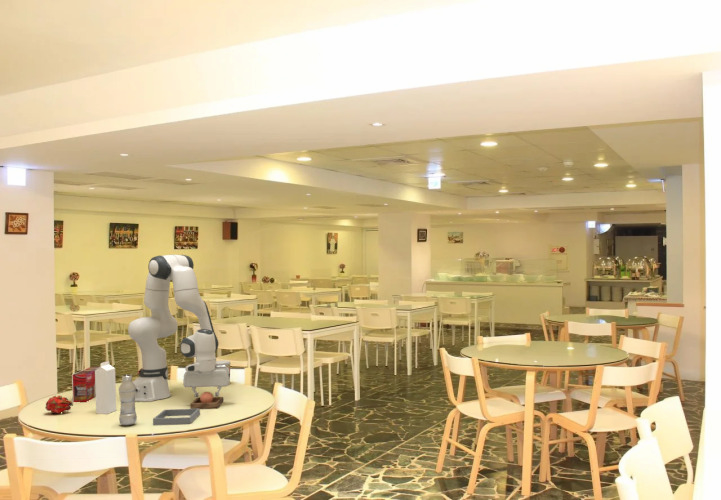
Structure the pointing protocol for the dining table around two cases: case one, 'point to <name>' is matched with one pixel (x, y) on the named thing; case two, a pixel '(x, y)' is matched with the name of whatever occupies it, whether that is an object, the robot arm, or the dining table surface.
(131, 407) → the plastic bottle
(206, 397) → the ball
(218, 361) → the coffee cup
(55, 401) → the dragon fruit
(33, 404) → the dining table surface
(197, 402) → the tray
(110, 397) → the milk
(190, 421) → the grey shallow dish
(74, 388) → the ice cream box
